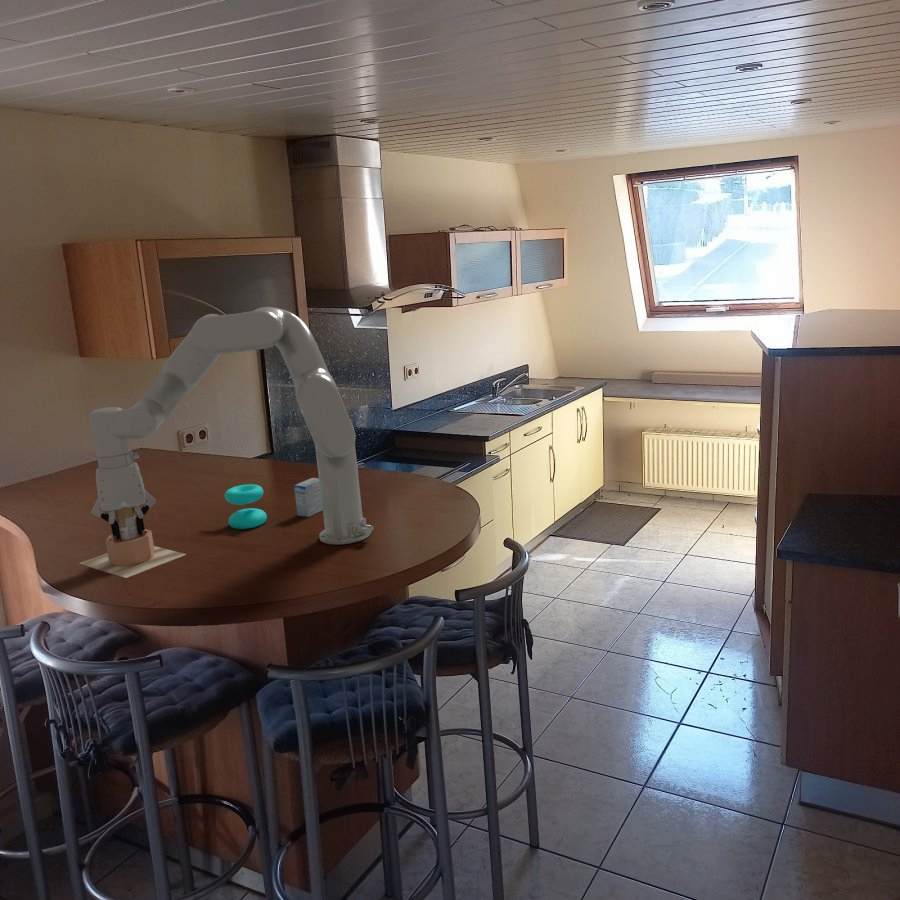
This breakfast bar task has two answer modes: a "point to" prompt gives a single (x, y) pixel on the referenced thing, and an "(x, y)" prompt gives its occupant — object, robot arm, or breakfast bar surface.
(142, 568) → the birch board
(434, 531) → the breakfast bar surface
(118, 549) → the terracotta octagonal bowl
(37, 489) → the breakfast bar surface
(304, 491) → the medicine box
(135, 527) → the spice jar
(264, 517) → the donuts
